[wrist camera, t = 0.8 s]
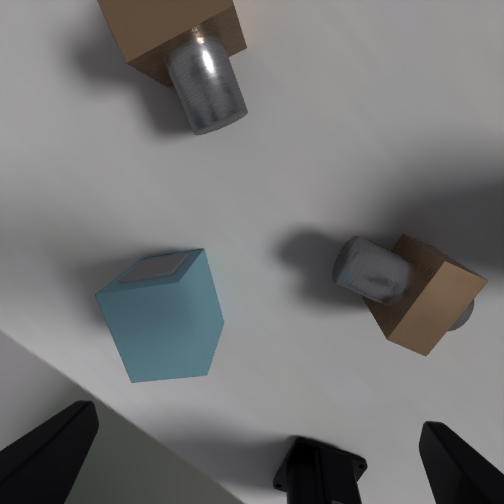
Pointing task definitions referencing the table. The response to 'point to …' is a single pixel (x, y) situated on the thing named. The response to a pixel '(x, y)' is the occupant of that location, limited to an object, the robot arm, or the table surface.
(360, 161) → the table surface
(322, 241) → the table surface
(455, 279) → the shaft
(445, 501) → the robot arm
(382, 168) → the table surface
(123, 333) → the light blue block
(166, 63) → the shaft
